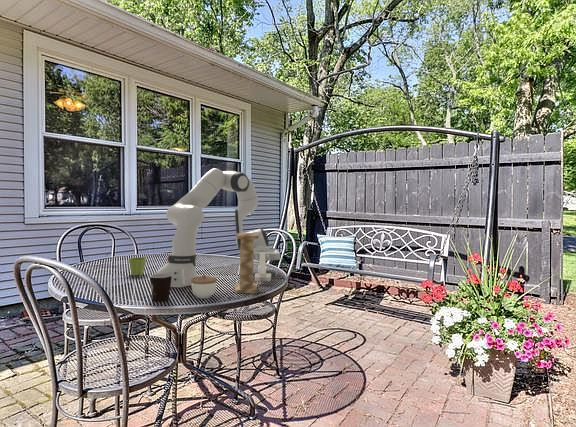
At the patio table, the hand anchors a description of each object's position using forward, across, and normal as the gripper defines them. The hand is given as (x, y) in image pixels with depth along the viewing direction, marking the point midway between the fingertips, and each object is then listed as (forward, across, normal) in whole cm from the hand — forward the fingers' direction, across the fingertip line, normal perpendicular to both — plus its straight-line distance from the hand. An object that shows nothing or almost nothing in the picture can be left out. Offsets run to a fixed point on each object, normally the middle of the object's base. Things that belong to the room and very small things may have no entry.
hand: (262, 257), depth 194 cm
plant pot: (-9, -67, +11) cm, 69 cm away
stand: (+24, -8, +11) cm, 28 cm away
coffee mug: (+39, -43, +11) cm, 59 cm away
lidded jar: (+36, -26, +11) cm, 46 cm away
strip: (+5, 0, +5) cm, 7 cm away
